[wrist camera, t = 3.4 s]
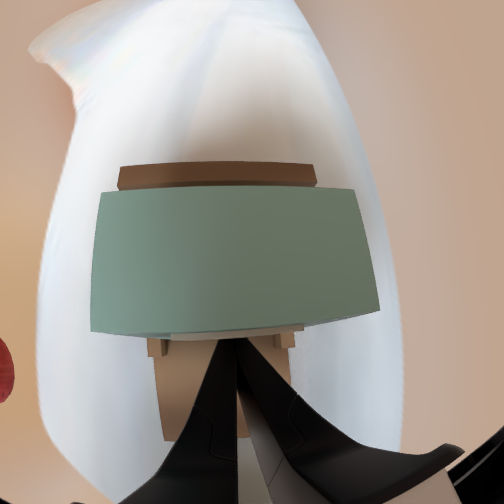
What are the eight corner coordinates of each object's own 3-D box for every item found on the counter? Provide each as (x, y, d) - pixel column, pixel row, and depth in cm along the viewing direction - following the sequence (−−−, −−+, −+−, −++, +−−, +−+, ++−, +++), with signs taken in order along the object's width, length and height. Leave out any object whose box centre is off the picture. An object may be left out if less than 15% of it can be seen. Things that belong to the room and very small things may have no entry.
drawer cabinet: (290, 425, 16) (351, 476, 7) (166, 436, 14) (137, 502, 6) (270, 236, 20) (312, 164, 12) (153, 240, 19) (120, 166, 10)
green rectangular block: (267, 335, 17) (381, 316, 5) (171, 341, 16) (91, 338, 4) (262, 287, 18) (354, 189, 6) (169, 291, 16) (101, 192, 5)
